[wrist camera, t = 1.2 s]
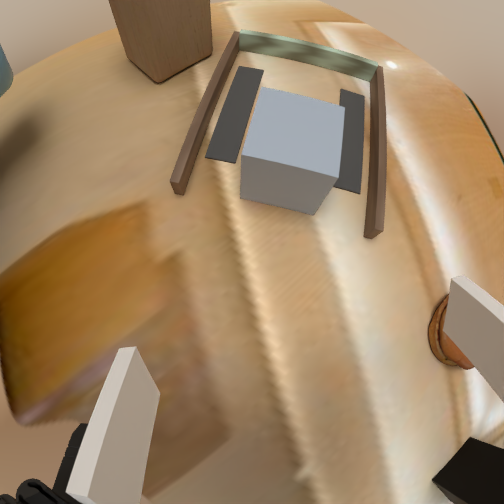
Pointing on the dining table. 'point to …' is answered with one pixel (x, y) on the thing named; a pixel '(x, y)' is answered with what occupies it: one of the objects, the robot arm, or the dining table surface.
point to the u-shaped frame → (309, 55)
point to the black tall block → (474, 475)
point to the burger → (445, 341)
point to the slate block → (291, 151)
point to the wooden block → (164, 33)
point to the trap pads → (238, 112)
